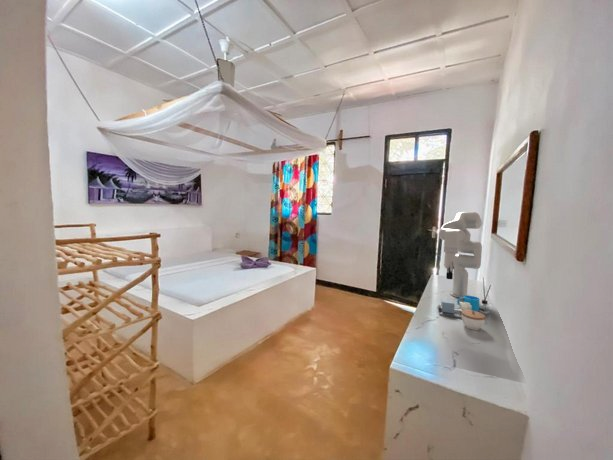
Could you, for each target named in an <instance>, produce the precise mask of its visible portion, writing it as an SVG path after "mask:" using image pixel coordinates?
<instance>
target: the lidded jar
mask: <svg viewBox="0 0 613 460" xmlns="http://www.w3.org/2000/svg"><path fill="white" fill-rule="evenodd" d="M461 320H462V323H463V324H464V326H465V327H466V328H467V329H470V330H473V331H479V330H480V329H481V328H483V326H484V325H485V322H486V321H485V320H486V315H485V314H484V313H481V312H480V311H479V312H477V311H472V310H463V311H462V319H461Z"/></svg>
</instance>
